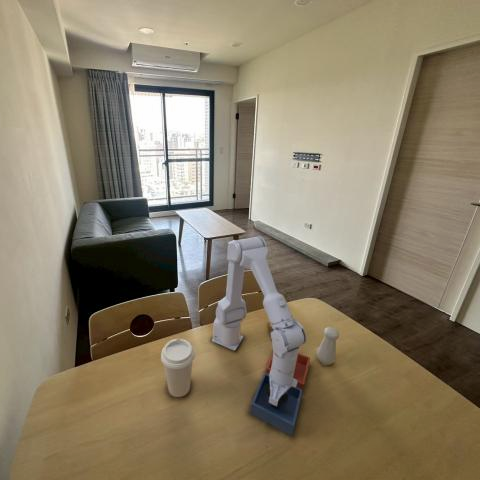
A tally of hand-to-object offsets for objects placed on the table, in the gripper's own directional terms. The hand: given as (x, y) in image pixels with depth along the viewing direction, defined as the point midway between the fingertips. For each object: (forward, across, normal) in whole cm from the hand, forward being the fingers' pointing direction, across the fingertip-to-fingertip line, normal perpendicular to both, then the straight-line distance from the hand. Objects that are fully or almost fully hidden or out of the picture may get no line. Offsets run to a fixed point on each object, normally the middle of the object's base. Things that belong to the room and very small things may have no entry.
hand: (277, 400), depth 70 cm
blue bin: (+2, 0, 0) cm, 2 cm away
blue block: (+1, 0, 0) cm, 1 cm away
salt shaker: (+3, +24, -10) cm, 26 cm away
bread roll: (+3, +30, +7) cm, 31 cm away
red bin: (+2, +13, 0) cm, 13 cm away
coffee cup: (+3, -9, +27) cm, 29 cm away
